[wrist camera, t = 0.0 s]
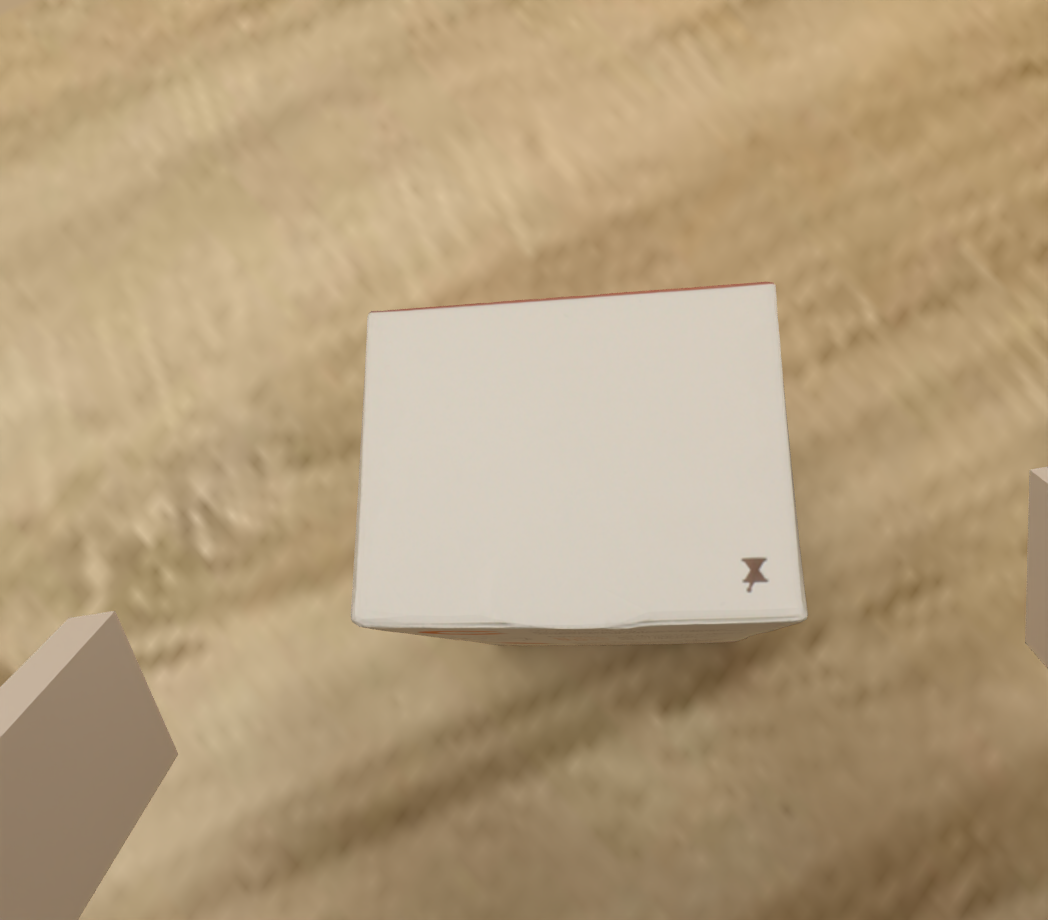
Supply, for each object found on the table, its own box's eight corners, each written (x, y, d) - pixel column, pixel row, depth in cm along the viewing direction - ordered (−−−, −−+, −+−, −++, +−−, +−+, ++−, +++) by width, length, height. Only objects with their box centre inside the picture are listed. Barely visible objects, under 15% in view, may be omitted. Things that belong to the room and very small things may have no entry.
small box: (730, 446, 28) (787, 273, 15) (742, 644, 26) (818, 630, 14) (488, 457, 29) (359, 304, 17) (488, 646, 28) (346, 636, 15)
